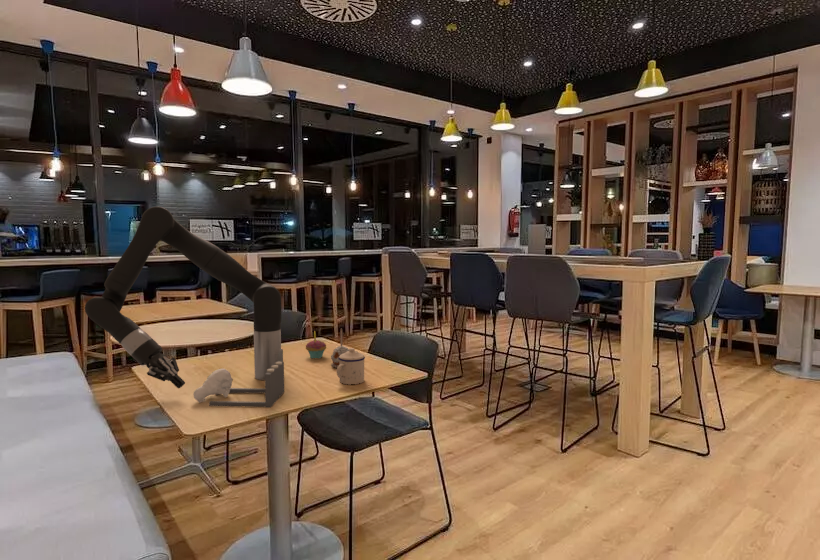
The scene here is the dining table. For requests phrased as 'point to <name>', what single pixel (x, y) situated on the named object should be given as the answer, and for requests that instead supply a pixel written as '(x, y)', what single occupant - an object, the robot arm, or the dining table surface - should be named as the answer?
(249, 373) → the dining table surface
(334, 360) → the decorative ornament
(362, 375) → the teacup with lid
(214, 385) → the cream figurine
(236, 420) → the dining table surface
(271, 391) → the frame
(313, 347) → the cupcake
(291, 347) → the dining table surface
